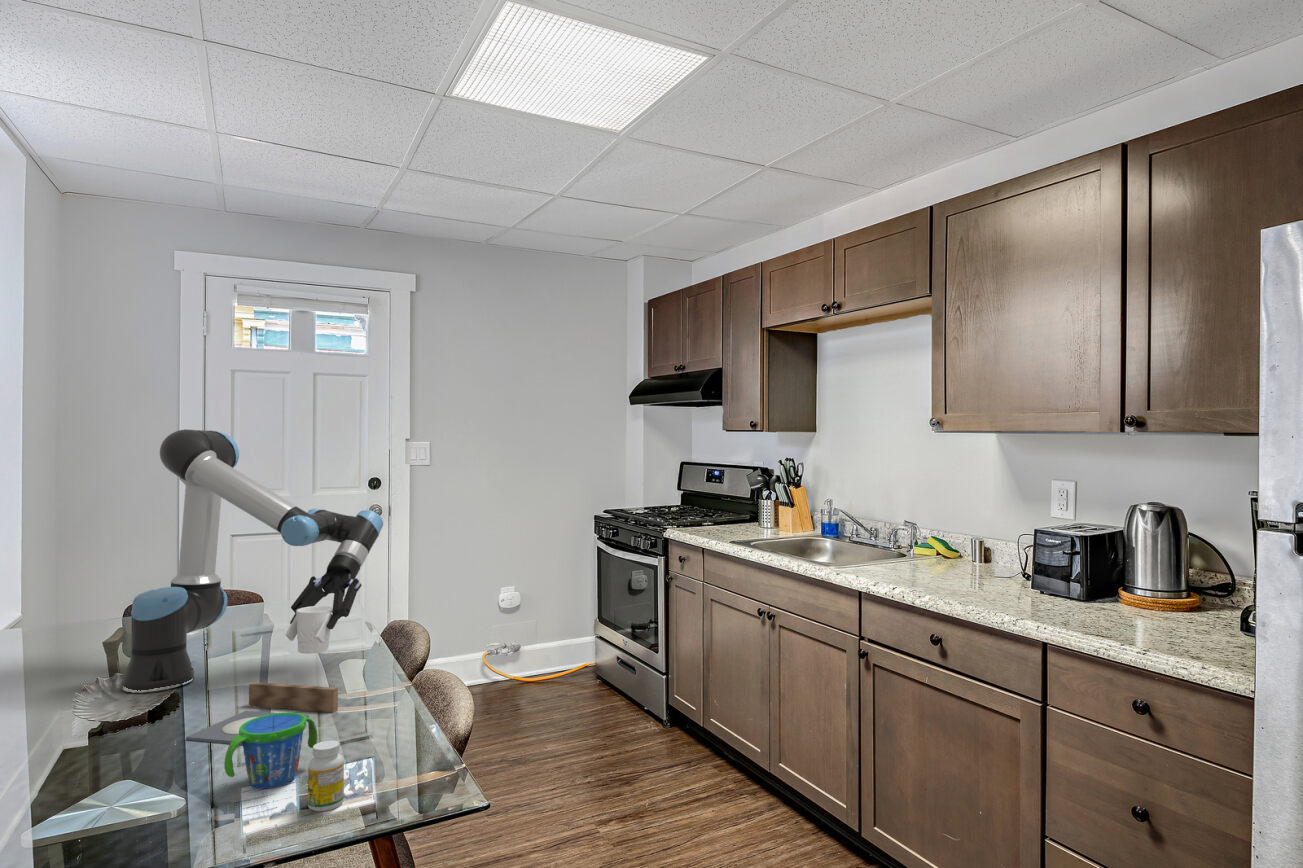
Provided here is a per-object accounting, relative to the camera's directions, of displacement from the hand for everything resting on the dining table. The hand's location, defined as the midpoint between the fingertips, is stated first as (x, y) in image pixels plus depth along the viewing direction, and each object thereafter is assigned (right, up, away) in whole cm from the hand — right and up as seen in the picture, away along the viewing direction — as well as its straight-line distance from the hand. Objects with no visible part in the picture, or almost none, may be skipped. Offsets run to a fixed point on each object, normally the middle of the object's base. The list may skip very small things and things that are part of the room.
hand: (304, 638), depth 177 cm
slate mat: (-1, -13, -22) cm, 26 cm away
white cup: (+1, -4, +3) cm, 5 cm away
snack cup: (+17, -12, -48) cm, 52 cm away
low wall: (+2, -13, -10) cm, 16 cm away
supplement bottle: (+30, -11, -57) cm, 66 cm away
